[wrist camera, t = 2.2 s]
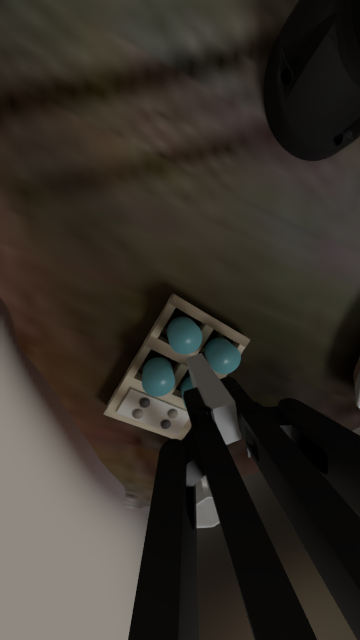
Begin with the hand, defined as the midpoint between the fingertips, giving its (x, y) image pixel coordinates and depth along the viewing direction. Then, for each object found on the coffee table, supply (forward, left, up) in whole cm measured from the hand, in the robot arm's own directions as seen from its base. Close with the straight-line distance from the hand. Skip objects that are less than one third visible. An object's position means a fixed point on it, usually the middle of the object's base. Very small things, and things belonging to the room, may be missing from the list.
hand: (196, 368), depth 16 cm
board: (+6, +3, -12) cm, 14 cm away
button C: (+7, 0, -10) cm, 12 cm away
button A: (0, 0, -10) cm, 10 cm away
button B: (0, +7, -10) cm, 12 cm away
